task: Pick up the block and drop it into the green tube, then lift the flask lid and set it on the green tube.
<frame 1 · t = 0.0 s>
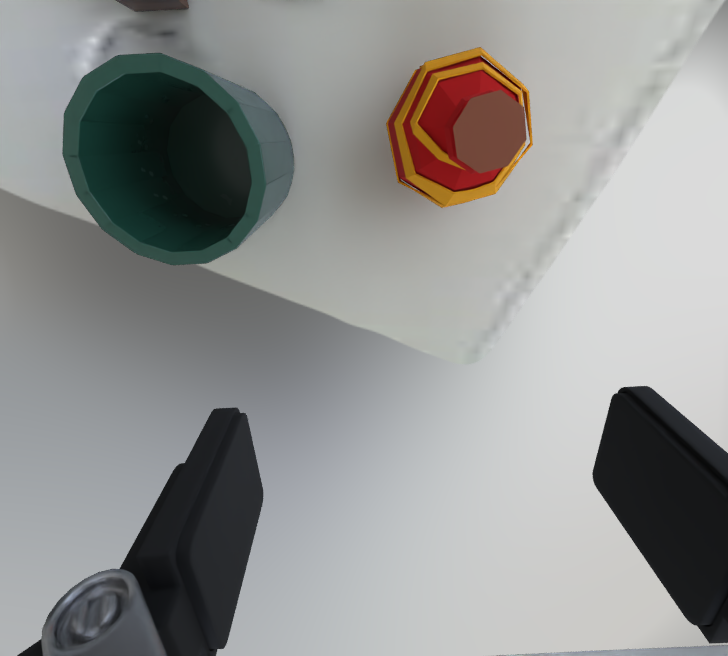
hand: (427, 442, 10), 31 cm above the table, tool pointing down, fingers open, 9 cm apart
green tube: (227, 159, 36), on the table
potion bottle: (439, 134, 36), on the table
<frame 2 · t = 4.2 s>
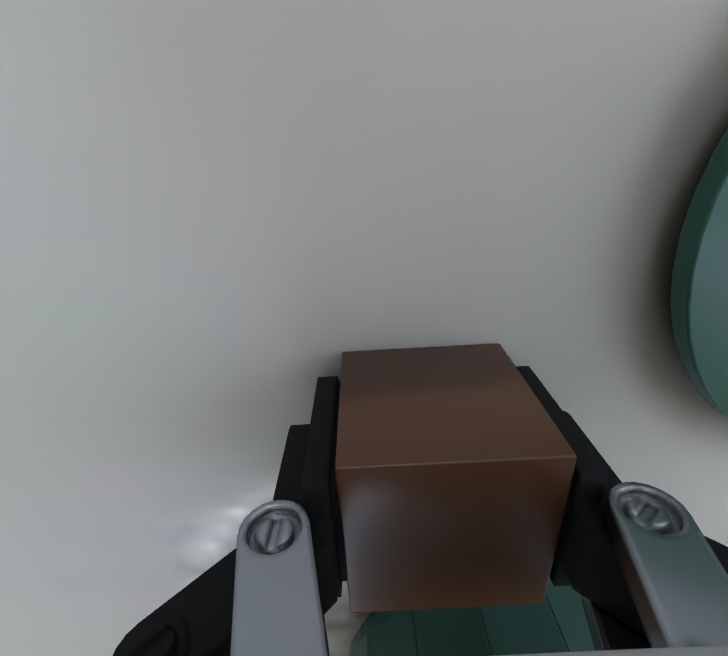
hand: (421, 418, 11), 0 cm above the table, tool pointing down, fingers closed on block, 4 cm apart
green tube: (487, 655, 17), on the table
block: (420, 411, 12), on the table, touching gripper
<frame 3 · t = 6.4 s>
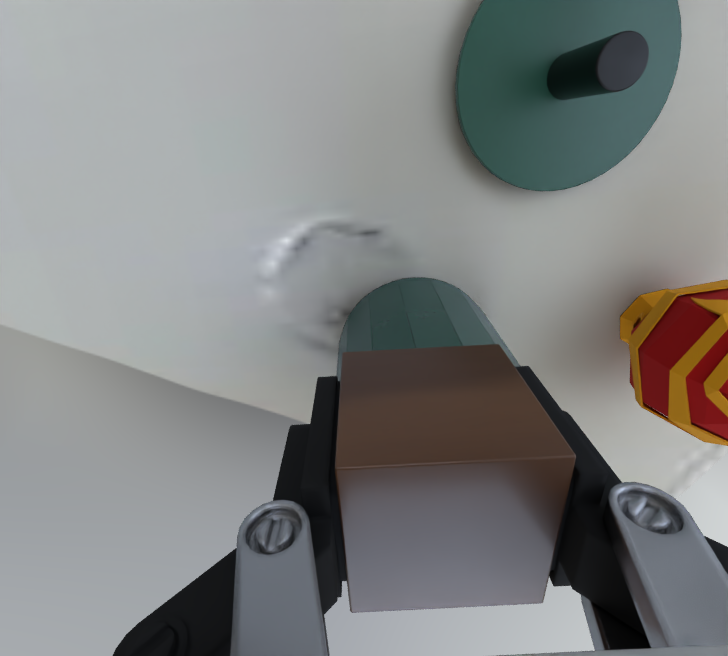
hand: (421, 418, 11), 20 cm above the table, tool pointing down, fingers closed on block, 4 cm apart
green tube: (413, 346, 33), on the table
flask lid: (562, 77, 24), point 1 cm above the table
block: (419, 411, 12), point 19 cm above the table, touching gripper
potion bottle: (652, 319, 32), on the table
when the fingers open (15 cm above the table, at t = 8.8 s): block drops 14 cm, resting on green tube.
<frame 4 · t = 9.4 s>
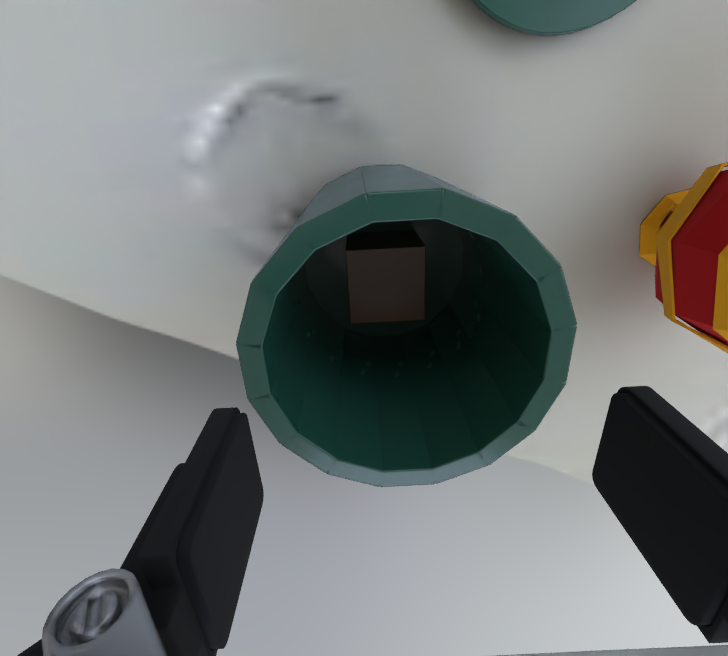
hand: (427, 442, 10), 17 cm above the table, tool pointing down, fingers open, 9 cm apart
green tube: (383, 262, 26), on the table
block: (382, 264, 26), resting on green tube
potion bottle: (679, 230, 26), on the table
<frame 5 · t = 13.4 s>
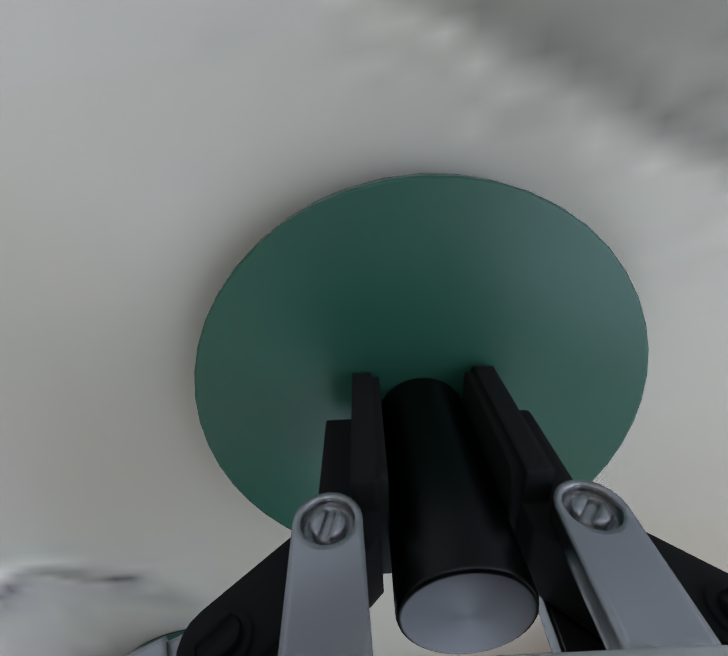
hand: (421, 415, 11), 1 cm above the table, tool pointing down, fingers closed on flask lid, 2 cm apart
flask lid: (417, 399, 12), point 1 cm above the table, touching gripper
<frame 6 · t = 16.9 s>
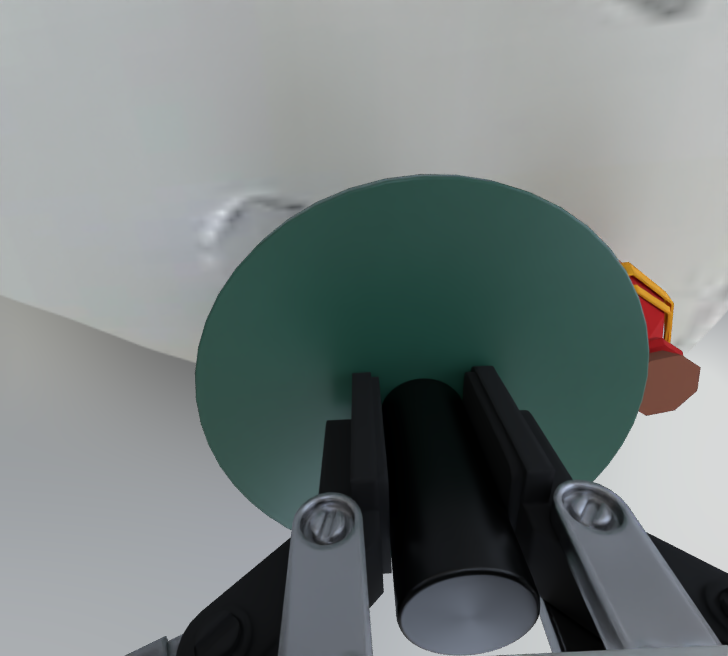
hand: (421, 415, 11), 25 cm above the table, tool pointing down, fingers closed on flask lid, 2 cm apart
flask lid: (418, 400, 12), point 24 cm above the table, touching gripper
potion bottle: (549, 290, 36), on the table
when the fingers open (14 cm above the table, at t = 20.3 s): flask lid stays where it is, resting on green tube.
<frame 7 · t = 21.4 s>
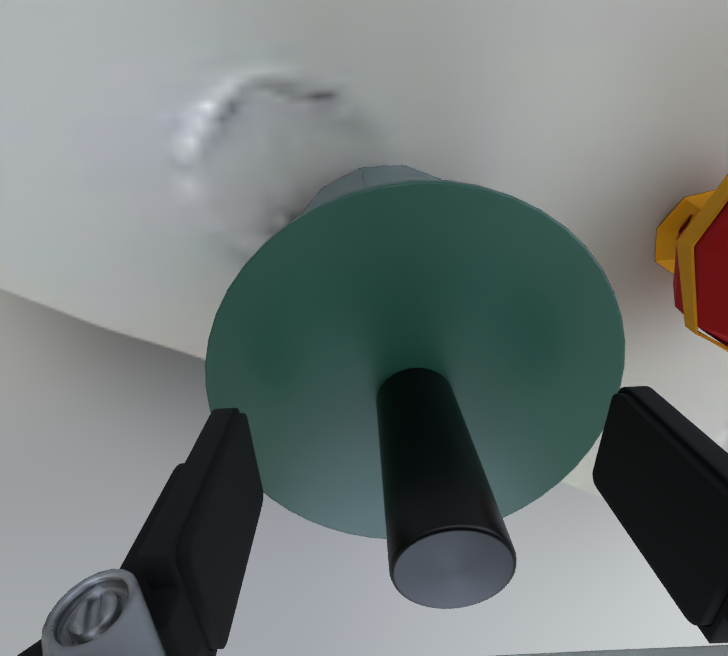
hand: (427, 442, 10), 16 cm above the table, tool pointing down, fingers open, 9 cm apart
green tube: (385, 268, 25), on the table
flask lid: (412, 388, 13), point 13 cm above the table, touching green tube
potion bottle: (697, 234, 24), on the table
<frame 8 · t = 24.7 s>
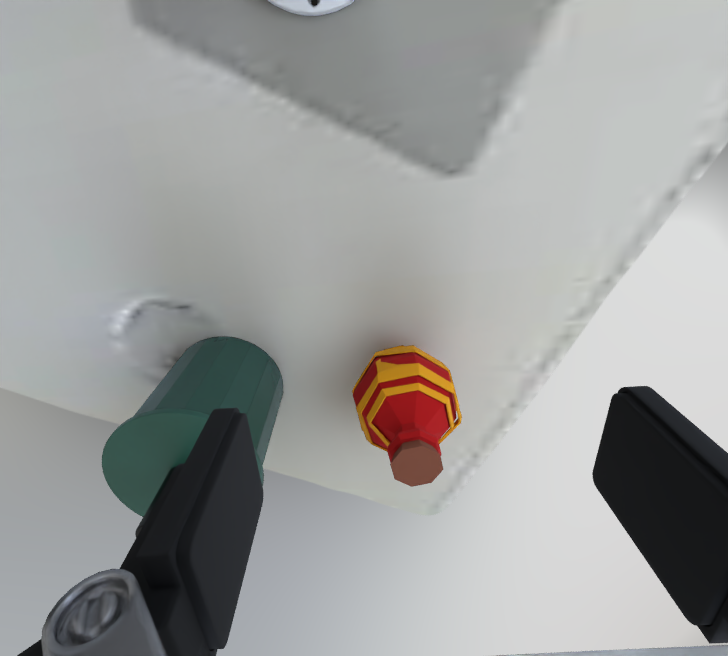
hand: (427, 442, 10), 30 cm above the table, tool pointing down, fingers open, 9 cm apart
green tube: (230, 383, 45), on the table
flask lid: (186, 470, 34), point 13 cm above the table, touching green tube
potion bottle: (399, 365, 45), on the table
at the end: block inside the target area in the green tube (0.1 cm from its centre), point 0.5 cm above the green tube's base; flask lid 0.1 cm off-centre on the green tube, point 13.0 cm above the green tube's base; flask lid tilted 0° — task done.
